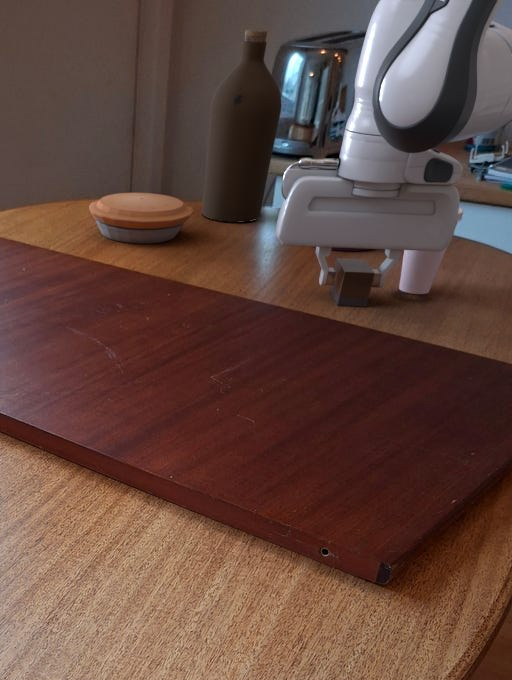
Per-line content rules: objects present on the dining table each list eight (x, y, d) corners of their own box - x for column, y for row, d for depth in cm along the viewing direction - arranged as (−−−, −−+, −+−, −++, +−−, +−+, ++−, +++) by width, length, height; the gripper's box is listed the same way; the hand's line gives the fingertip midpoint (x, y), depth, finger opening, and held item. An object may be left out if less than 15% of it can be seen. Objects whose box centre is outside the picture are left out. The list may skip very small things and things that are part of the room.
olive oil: (271, 224, 139) (303, 33, 124) (205, 224, 138) (229, 32, 123) (253, 208, 147) (281, 28, 132) (191, 208, 147) (212, 27, 131)
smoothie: (445, 288, 113) (481, 167, 105) (432, 300, 109) (469, 175, 101) (396, 279, 116) (426, 161, 108) (381, 291, 112) (412, 169, 103)
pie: (148, 254, 124) (151, 215, 121) (66, 233, 133) (68, 197, 130) (210, 234, 133) (214, 199, 130) (130, 217, 142) (133, 182, 139)
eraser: (328, 291, 112) (336, 258, 109) (356, 292, 112) (364, 259, 109) (337, 305, 107) (344, 271, 105) (366, 307, 107) (374, 272, 104)
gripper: (290, 162, 98) (268, 289, 107) (478, 167, 97) (440, 296, 105) (283, 152, 103) (262, 274, 112) (461, 157, 102) (427, 281, 110)
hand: (350, 285), depth 108 cm, fingers open, 5 cm apart
